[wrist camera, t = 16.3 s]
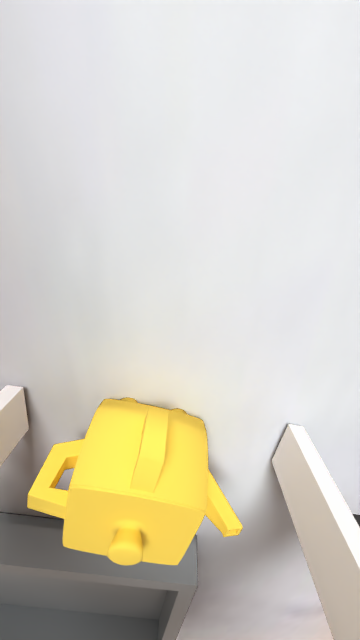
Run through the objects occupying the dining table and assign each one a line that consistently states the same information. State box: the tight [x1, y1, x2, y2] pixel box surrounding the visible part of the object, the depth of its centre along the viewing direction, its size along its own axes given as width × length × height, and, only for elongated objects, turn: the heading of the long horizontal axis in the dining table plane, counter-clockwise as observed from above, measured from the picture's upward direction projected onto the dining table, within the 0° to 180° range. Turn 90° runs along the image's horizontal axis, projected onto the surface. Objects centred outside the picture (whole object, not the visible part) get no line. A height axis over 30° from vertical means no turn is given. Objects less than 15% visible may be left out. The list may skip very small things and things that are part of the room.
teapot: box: [27, 398, 243, 565], centre depth 10 cm, size 8×6×5 cm
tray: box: [0, 513, 198, 640], centre depth 18 cm, size 18×14×2 cm
